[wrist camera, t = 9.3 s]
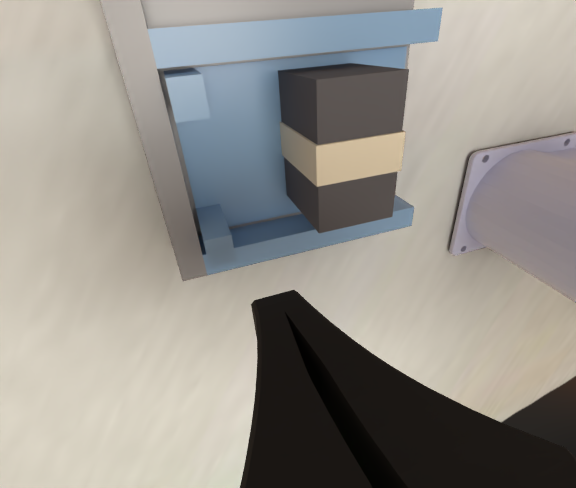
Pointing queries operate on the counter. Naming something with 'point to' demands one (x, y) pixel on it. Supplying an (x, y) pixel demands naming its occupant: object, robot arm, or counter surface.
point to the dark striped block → (342, 141)
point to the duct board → (243, 112)
